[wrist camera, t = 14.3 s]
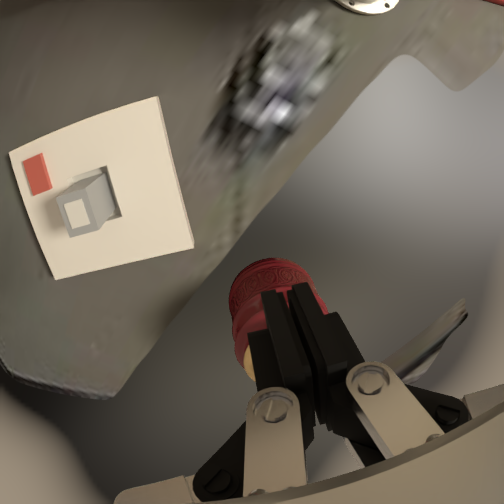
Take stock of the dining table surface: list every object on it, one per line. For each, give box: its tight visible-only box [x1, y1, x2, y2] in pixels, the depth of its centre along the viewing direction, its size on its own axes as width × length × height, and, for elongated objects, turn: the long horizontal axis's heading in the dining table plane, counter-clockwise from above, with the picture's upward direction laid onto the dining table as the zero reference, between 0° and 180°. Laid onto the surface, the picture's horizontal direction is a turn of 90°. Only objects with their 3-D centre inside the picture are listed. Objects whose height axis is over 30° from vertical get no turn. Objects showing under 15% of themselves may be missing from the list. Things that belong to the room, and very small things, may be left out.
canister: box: [229, 258, 329, 382], centre depth 42 cm, size 13×13×18 cm
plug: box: [56, 172, 116, 238], centre depth 36 cm, size 4×5×8 cm
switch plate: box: [9, 96, 194, 280], centre depth 38 cm, size 22×20×3 cm
